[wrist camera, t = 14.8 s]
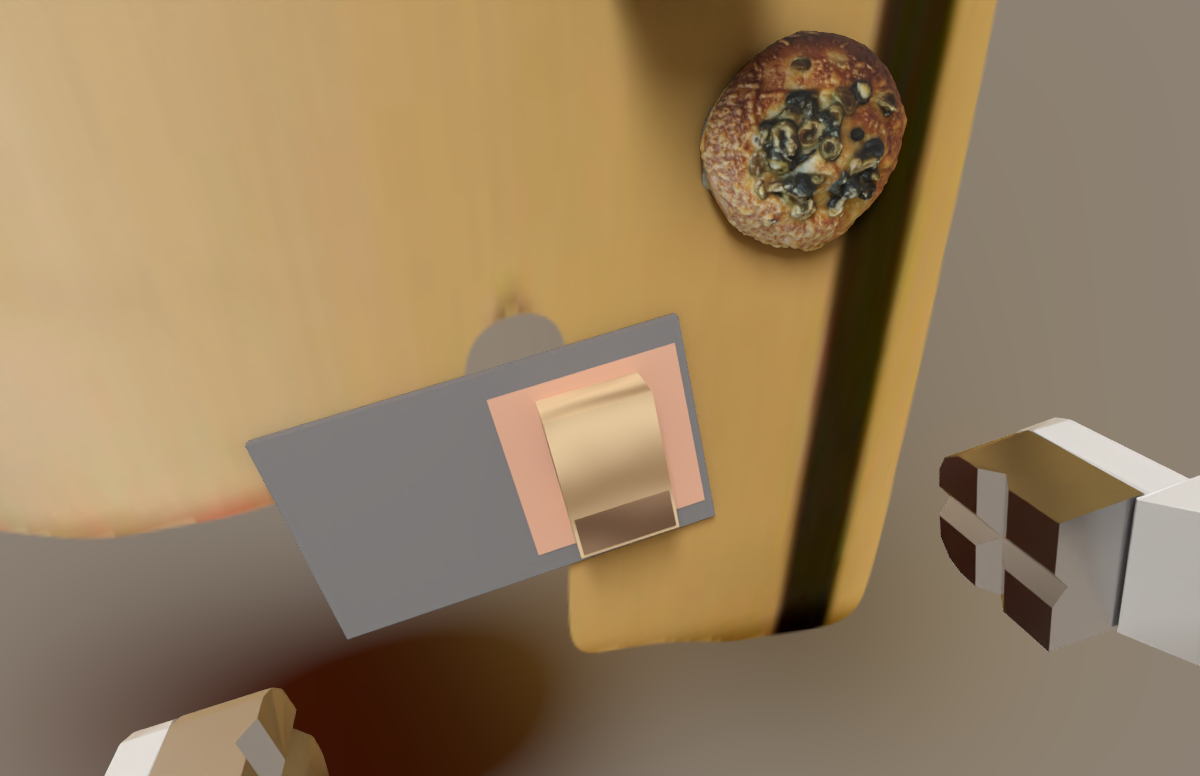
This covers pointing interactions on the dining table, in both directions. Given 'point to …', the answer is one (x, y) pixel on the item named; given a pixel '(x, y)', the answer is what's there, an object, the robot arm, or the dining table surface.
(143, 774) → the robot arm
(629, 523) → the beige curved block
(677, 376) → the mat
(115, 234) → the dining table surface
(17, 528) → the dining table surface
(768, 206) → the bread roll
